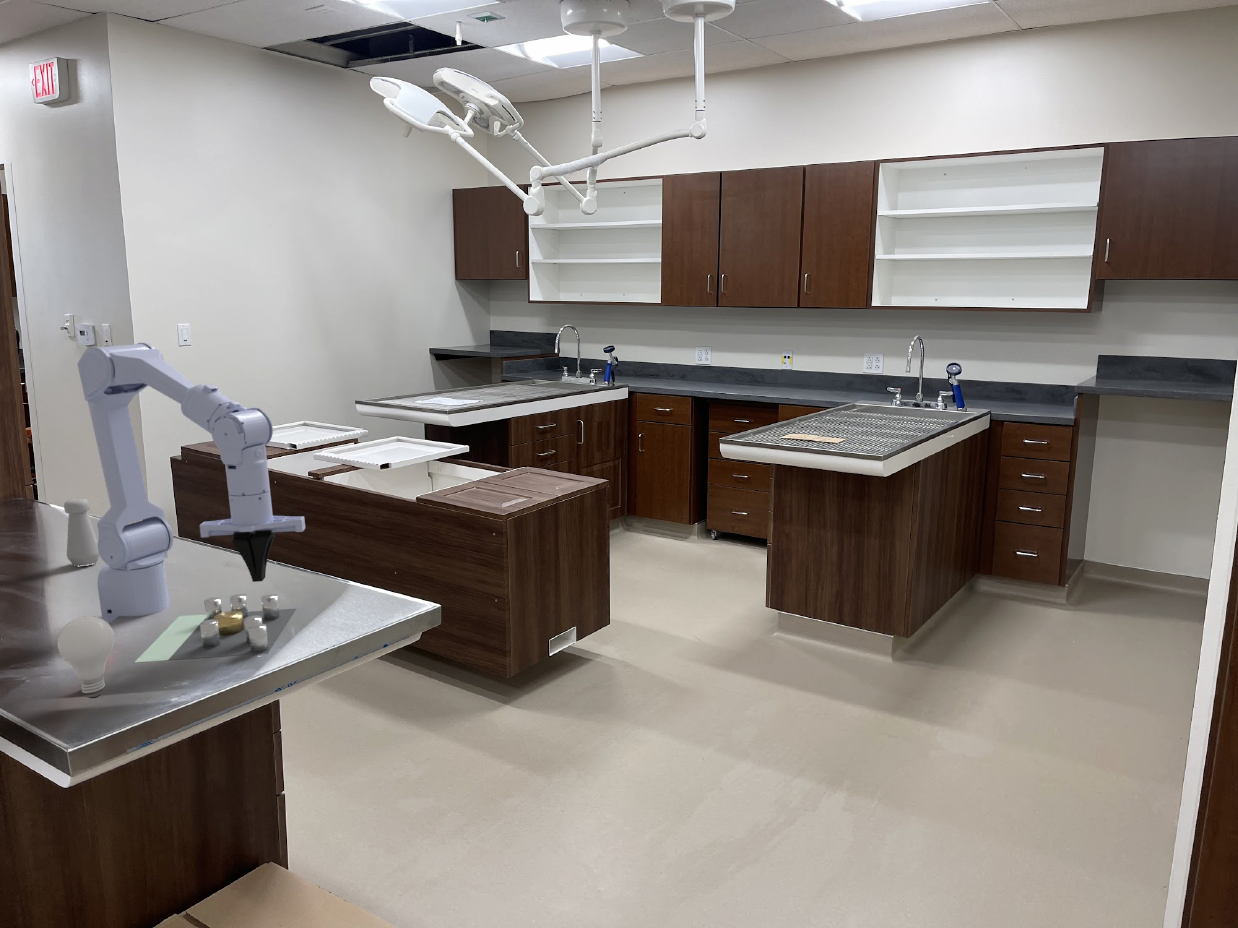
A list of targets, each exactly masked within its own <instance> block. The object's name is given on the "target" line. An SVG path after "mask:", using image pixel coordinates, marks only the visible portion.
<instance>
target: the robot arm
mask: <svg viewBox="0 0 1238 928" xmlns="http://www.w3.org/2000/svg"><path fill="white" fill-rule="evenodd" d="M77 368H78V374H79V377H80V378H79V379H80V382H81V387H82V391H83V395H84V399H85V401H87V405H88V409H89V413H90V418H91V422H92V423H91V424H92V428H93V432H94V436H95V441H96V445H97V451H98V454H99V460H100V464H101V468H102V473H103V477H104V478H103V479H104V482H105V487H106V491H107V495H108V499H109V501H108V502H109V505H110V508H109V509H108V510H107V511H106V512H105V514H104V515H103V516H102V517H101V518H100V519H99V520H98V522H97V523H96V525H97V531H98V532H97V533H98V538H97V540H98V551H99V554H100V556H99V557H100V558H101V560H102V561H103V562H104V563H105V565H103V566H102V567H101V568H100V570H99V572H98V576H97V592H98V597H99V598H98V599H99V604H100V605H99V606H100V611H101V619H103V620H104V621H106V622H107V623H108V624H109V625H110V624H111V623H112V622H113V621H114V620H116V619H117V618H118V617H143V616H149V615H153V614H156V613H159V612H162V611H164V610H166V609H168V608H169V607H170V603H171V602H170V595H169V589H168V582H167V581H168V580H167V573H166V567H165V559H167V558H168V557H169V556H168V552H169V551H170V550H171V549H172V546H173V542H174V532H173V530H172V527H171V526H170V524H169V523H168V521H167V518H166V516H165V511H164V509H163V508H162V507H160V506H158V505H156V504H154V503H152V502H151V501H149V499H148V494H147V488H146V484H145V479H144V475H143V470H142V466H141V461H140V457H139V451H138V446H137V442H136V438H135V433H134V428H133V424H132V419H131V414H130V410H129V409H130V408H129V405H130V404H131V402H132V400H133V399H134V397H135V396H136V395H137V394H139V393H140V392H142V391H144V390H145V389H146V388H148V387H150V388H152V389H154V390H156V391H157V392H159V393H161V394H162V395H164V396H166V397H168V398H170V399H171V400H173V401H175V402H176V403H179V404H180V410H181V413H182V414H183V416H185V418H187V419H189V420H190V421H191V422H193V423H195V424H196V425H198V427H200V428H202V429H203V430H205V431H206V432H208V433H209V434H211V437H212V441H213V444H214V445H215V446H216V448H217V449H218V451H219V455H220V456H219V457H220V460H221V461H222V464H223V465H225V474H226V483H227V484H226V485H227V491H228V493H227V494H228V500H229V501H228V502H229V509H230V518H227V519H217V520H211V521H207V520H206V521H203V522H202V523H200V524H199V532H200V538H209V537H214V536H215V537H216V536H228V535H229V536H230V535H231V536H232V535H233V539H232V540H231V543H232V545H233V547H234V549H236V551H237V552H238V554H239V555H240V556H241V558H242V560H243V562H244V563H245V565H246V567H247V570H248V573H249V574H250V577H251V580H252V583H255V582H257V583H258V582H259V583H260V582H263V581H264V580H265V579H266V573H267V572H266V571H267V563H268V559H269V554H270V550H271V547H272V544H273V542H274V539H275V537H276V534H277V533H283V532H296V533H302V532H304V531H305V529H306V523H305V516H304V515H303V516H302V515H301V516H295V515H294V516H289V515H287V516H286V515H273V506H272V496H271V488H270V487H271V486H270V477H269V469H268V468H269V466H268V459H267V449H266V445H268V444H269V443H270V442H271V440H272V437H273V432H274V430H273V429H274V427H273V424H272V421H271V419H270V417H269V415H268V414H267V413H265V412H264V411H263V410H262V409H261V408H260V407H249V408H248V407H245V406H242V405H241V403H240V402H238V401H237V400H232V399H231V398H229V397H228V396H227V395H225V394H224V393H222V392H220V391H218V389H219V388H218V386H216V385H214V384H213V383H211V384H210V383H209V384H205V383H201V384H197V385H196V384H194V383H193V382H192V381H191V380H190V379H188V378H187V377H186V376H185V375H184V374H182V373H181V372H179V371H178V370H177V369H176V368H174V367H173V366H172V365H171V364H169V363H168V362H167V361H165V360H164V355H163V353H162V351H161V350H159V349H157V348H155V347H154V346H153V345H152V344H150V343H147V342H138V343H136V344H122V345H111V346H110V345H108V346H89V347H88V348H86V349H85V350H84V352H83V353H82V355H81V356H80V359H79V360H78V362H77Z"/></svg>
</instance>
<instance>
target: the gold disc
mask: <svg viewBox="0 0 1238 928" xmlns="http://www.w3.org/2000/svg"><path fill="white" fill-rule="evenodd" d="M214 620H218V626H219V634H220V635H221V636H226V635H233V634H237V633H239V632H241V631H243V630H244V622H243V614H242V612H240V611H231V610H229V611H224V612H223V613H220V614H217V615H216V616H214Z"/></svg>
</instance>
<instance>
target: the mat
mask: <svg viewBox="0 0 1238 928" xmlns="http://www.w3.org/2000/svg"><path fill="white" fill-rule="evenodd" d="M296 610H297V608H284V609H282V608H281V609H279V614H280V617H279V618H278V619H275V620H264V619H263V610H258V611H257V610H254V611H252V610H251V611H248V617H249V616H256V615H257V616H261V617H262V624H266V629H267V638H268V647H269V649H268V650H267V651H264V652H261V653H252V652H251V650H250V644H248V643H247V642H246V633H245V624H244V630H243V631H241V632H239V633H237V634H233V635H226V636H221V635H220V643H221V644H220V645H219V646H217V647H215V648H208V649H207V648H203V646H202V637H201V629H200V623H201V622H203V621H206V613H205V614H191V615H179V616H178V617H177V618H176V619H175V620H174V621H173V622H172V623H171V624H170V625H169V626H168V627H166V629H165V630H164V631H163V632H162V633H161V634H160V636H158V637H157V639H155V640H154V642H152V644H151V645H150V646H149V647H148V648H147V649H146V650H145V651H144V652H142V654H141V655H139V657H137V659H136V660H135V661H134V662H133V663H134V664H135V663H147V662H149V663H150V662H160V661H161V662H162V661H163V662H164V661H176V660H177V661H179V660H191V659H205V658H207V659H209V658H223V657H236V656H248V655H249V656H250V655H265V654H269V652H270V651H271V649H272V648H273V646H274V645H275V643H276V641H277V640H278V638H279V637H280V636H281V633H283V630H284V629H285V628H286V626H287V624H288V623H289V621H290V619H291V618H292V616H293V615H294V613H295V612H296ZM243 622H244V619H243Z"/></svg>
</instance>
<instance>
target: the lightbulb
mask: <svg viewBox="0 0 1238 928" xmlns="http://www.w3.org/2000/svg"><path fill="white" fill-rule="evenodd" d="M115 638H116V637H115V632H114V630H113V628H112V626H111V625H110V624H108V623H107V622H106V621H104V620H103V619H102V617H101V618H100V617H97V616H92V615H85V616H79V617H77V618H74V619H73V620H71V621H70V622H68V623H67V624H66V625H64V627H63V628H62V629H60V632H59V634H58V637H57V650H58V652H59V654H60V657H62V659H64V661H66V662H67V663H68V664H69V665H70V666H71V667H72V668H73V669H74V672H75V674H76V676H77V677H78V678H79V681H80V687H81V693H83V694H90V695H83V697H84V698H88V699H98V698H99V697H100V696H101V694H94V695H93V693H96V692H100V691H103V690H104V689H105V686H106V684H105V674H104V673H105V671H106V664H107V660H108V658H109V656H110V654H111V653H112V651H113V648H114V644H115ZM91 694H92V695H91Z"/></svg>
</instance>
